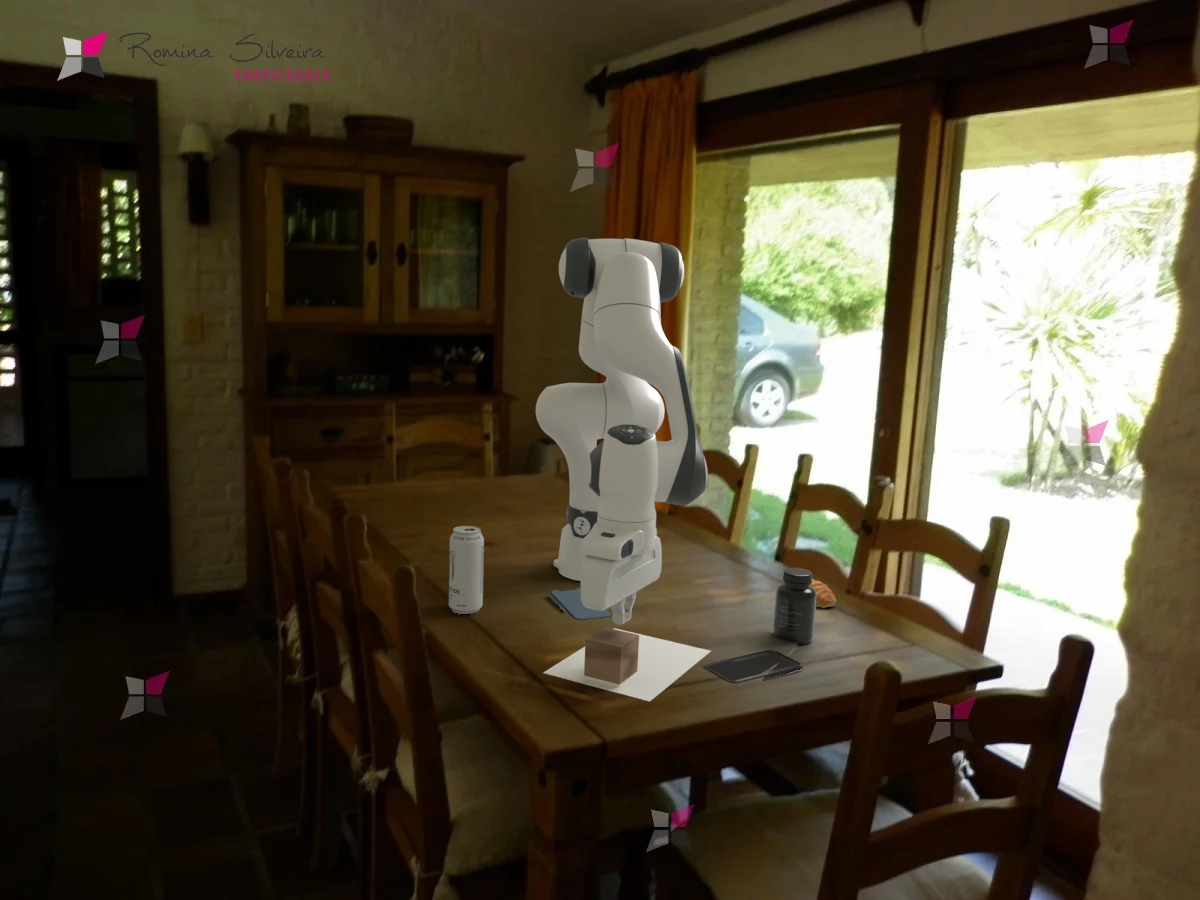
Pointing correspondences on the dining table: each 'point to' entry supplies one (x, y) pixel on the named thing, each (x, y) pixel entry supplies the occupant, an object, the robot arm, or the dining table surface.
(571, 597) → the smartphone
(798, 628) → the supplement bottle
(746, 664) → the phone
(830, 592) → the pastry
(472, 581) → the energy drink can
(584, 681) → the white mat
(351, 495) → the dining table surface
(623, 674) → the walnut cube
